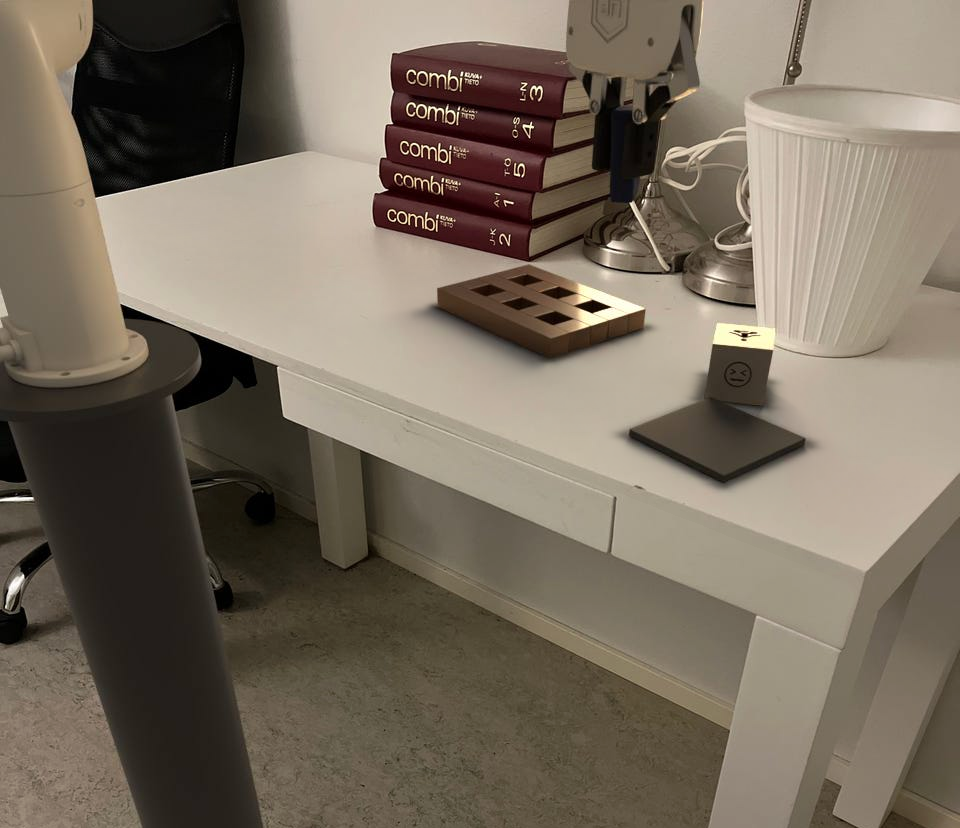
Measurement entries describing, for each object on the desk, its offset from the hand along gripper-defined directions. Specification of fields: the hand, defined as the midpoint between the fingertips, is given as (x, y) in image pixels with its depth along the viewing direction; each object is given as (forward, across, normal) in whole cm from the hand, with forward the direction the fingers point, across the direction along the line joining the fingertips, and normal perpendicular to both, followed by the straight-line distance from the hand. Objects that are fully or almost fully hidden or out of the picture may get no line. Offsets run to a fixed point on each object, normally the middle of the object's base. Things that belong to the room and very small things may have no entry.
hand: (622, 169), depth 79 cm
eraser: (+2, 0, 0) cm, 3 cm away
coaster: (+17, +16, -3) cm, 23 cm away
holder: (+17, -14, +4) cm, 23 cm away
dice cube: (+17, +10, +6) cm, 21 cm away
